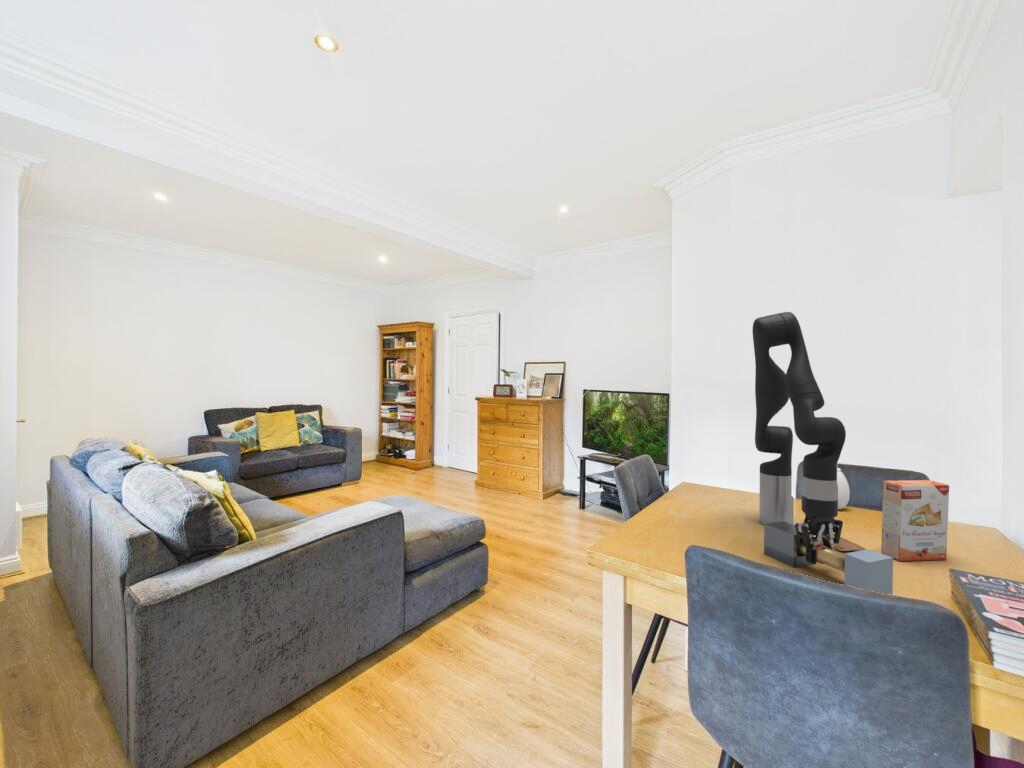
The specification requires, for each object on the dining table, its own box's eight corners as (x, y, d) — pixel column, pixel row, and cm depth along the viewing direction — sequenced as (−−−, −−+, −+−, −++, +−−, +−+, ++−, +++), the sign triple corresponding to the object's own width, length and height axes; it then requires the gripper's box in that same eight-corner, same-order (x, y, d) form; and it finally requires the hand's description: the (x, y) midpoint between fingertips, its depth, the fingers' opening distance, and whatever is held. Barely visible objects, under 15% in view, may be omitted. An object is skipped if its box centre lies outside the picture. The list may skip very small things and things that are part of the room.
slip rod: (783, 543, 121) (783, 527, 121) (854, 572, 103) (854, 553, 103) (770, 545, 120) (770, 529, 120) (840, 575, 102) (841, 556, 101)
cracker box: (901, 562, 114) (902, 485, 114) (880, 553, 120) (881, 479, 120) (949, 560, 115) (950, 484, 115) (926, 551, 121) (927, 478, 121)
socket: (868, 586, 102) (868, 549, 101) (892, 596, 97) (893, 557, 97) (844, 591, 99) (844, 553, 99) (867, 602, 94) (868, 562, 94)
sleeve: (782, 550, 122) (783, 521, 122) (813, 563, 114) (813, 531, 114) (764, 553, 120) (764, 523, 120) (793, 567, 112) (794, 535, 112)
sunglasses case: (808, 544, 127) (819, 524, 127) (827, 555, 127) (838, 536, 127) (861, 572, 109) (874, 549, 109) (883, 585, 109) (896, 562, 109)
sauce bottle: (821, 508, 160) (821, 461, 160) (826, 504, 166) (826, 458, 165) (847, 513, 155) (847, 464, 154) (851, 509, 160) (851, 461, 160)
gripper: (825, 489, 114) (824, 552, 115) (784, 493, 110) (784, 559, 110) (855, 496, 107) (854, 564, 107) (813, 502, 103) (812, 572, 103)
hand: (818, 561), depth 109 cm, fingers closed on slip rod, 4 cm apart
